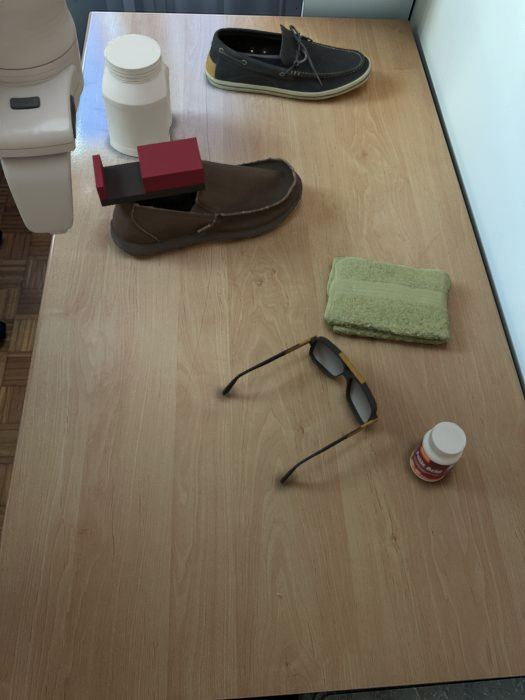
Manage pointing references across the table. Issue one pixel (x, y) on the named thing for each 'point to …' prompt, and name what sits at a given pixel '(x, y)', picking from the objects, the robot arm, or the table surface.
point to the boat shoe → (283, 64)
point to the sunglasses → (333, 366)
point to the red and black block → (151, 173)
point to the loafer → (211, 208)
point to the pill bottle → (438, 451)
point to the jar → (136, 93)
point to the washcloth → (388, 301)
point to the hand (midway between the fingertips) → (55, 192)
